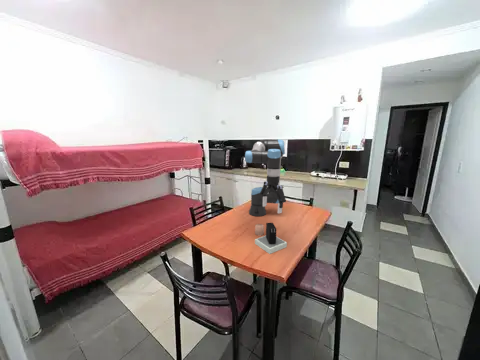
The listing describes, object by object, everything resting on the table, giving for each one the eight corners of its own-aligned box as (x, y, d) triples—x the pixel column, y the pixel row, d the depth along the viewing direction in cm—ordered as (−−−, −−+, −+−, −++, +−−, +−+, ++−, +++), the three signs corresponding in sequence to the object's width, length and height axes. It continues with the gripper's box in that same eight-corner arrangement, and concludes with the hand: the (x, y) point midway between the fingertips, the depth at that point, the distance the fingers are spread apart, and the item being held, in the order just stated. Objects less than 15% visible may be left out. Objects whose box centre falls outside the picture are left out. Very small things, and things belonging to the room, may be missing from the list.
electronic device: (272, 236, 130) (272, 222, 128) (275, 244, 121) (276, 229, 119) (265, 236, 130) (266, 222, 128) (269, 244, 120) (269, 229, 118)
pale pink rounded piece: (253, 233, 142) (253, 225, 141) (259, 231, 145) (260, 223, 144) (258, 236, 137) (258, 228, 136) (265, 234, 140) (265, 226, 139)
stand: (254, 243, 128) (255, 238, 127) (271, 237, 136) (271, 233, 135) (269, 254, 117) (269, 248, 116) (286, 247, 124) (286, 242, 123)
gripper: (255, 172, 127) (254, 204, 131) (284, 180, 107) (282, 217, 111) (264, 171, 131) (263, 202, 136) (293, 178, 111) (291, 214, 115)
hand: (271, 209), depth 123 cm, fingers open, 13 cm apart
